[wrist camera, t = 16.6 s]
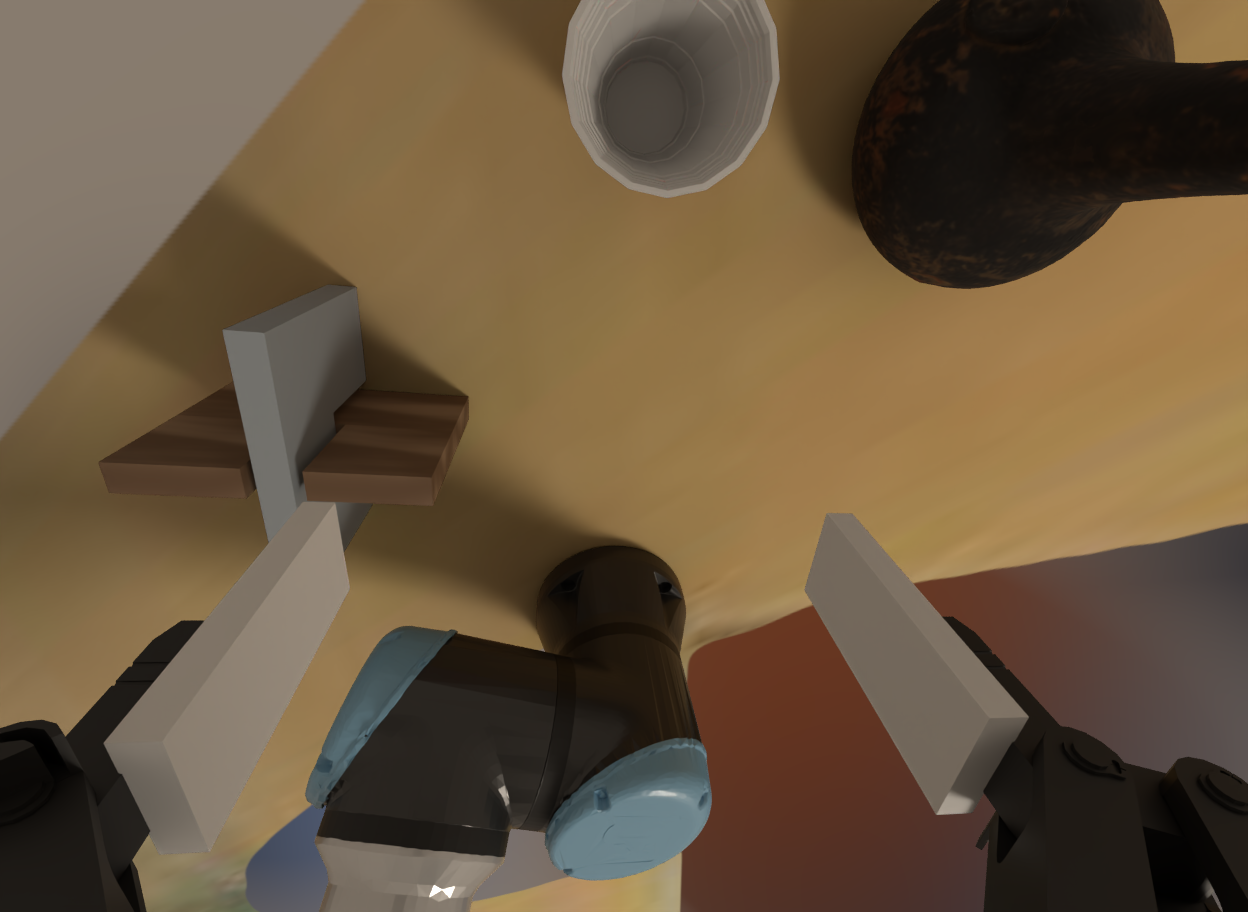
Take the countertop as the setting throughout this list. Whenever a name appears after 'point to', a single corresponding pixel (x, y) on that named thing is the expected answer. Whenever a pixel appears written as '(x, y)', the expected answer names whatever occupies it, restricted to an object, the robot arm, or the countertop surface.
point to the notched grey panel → (296, 394)
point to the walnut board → (342, 472)
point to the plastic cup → (670, 88)
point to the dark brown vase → (1036, 133)
